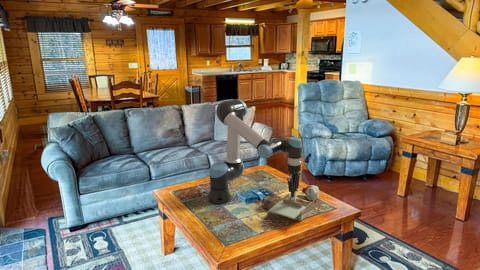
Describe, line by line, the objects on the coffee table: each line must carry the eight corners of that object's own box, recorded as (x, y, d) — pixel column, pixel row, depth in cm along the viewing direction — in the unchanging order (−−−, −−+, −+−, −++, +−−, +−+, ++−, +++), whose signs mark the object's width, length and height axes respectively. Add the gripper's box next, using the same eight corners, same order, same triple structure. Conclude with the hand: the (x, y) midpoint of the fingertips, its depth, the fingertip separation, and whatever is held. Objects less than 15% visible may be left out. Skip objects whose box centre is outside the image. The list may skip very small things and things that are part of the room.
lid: (268, 211, 186) (268, 205, 185) (282, 201, 198) (282, 196, 197) (293, 219, 177) (294, 213, 176) (306, 208, 189) (306, 202, 188)
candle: (317, 203, 204) (297, 199, 215) (326, 197, 212) (306, 194, 223) (316, 190, 203) (296, 186, 213) (325, 184, 211) (305, 181, 221)
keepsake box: (274, 212, 194) (274, 203, 193) (287, 202, 207) (288, 193, 206) (301, 221, 184) (301, 211, 182) (314, 210, 197) (314, 200, 195)
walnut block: (263, 207, 201) (263, 198, 200) (268, 204, 206) (268, 195, 204) (271, 210, 198) (271, 201, 196) (276, 206, 202) (276, 197, 201)
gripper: (295, 168, 179) (293, 207, 185) (305, 162, 190) (303, 199, 195) (283, 165, 184) (282, 203, 190) (293, 159, 194) (292, 196, 200)
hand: (293, 201), depth 192 cm, fingers closed
